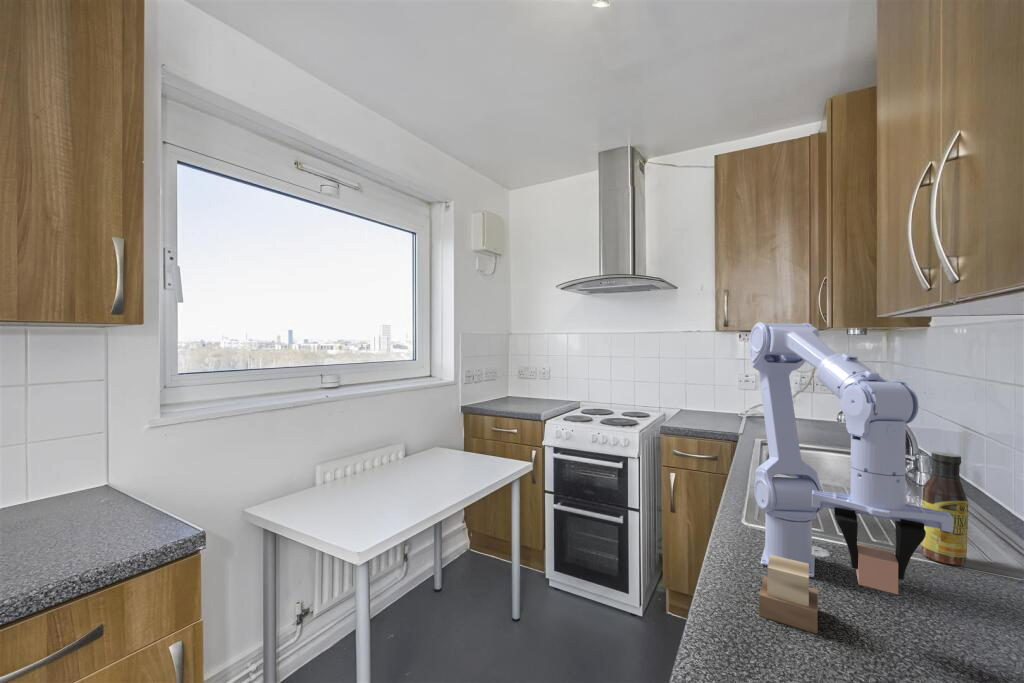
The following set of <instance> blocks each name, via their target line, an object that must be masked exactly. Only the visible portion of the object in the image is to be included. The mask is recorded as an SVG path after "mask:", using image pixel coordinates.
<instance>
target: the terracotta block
mask: <svg viewBox="0 0 1024 683" xmlns="http://www.w3.org/2000/svg"><path fill="white" fill-rule="evenodd" d="M857 552H858V569H856V572H855V573H856V576H857V583H858V585H860V586H863V587H867V588H872V589H876V590H879V591H883V592H887V593H891V594H894V595H899V579H898V561H897V558H896V556H895V551H893V550H888V549H884V548H877V547H873V546H869V545H864V544H860V543H857Z"/></svg>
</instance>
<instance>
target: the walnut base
mask: <svg viewBox="0 0 1024 683" xmlns="http://www.w3.org/2000/svg"><path fill="white" fill-rule="evenodd" d="M767 577H768V575H763V578H762V582H761V587H760V590H759V594H758V597H759V598H758V616H759V617H762V618H765V619H768V620H772V621H775V622H778V623H781V624H784V625H788V626H790V627H794V628H797V629H800V630H803V631H806V632H810V633H812V634H816V635H817V634H818V628H819V627H818V625H819V624H818V620H819V619H818V612H819V611H818V607H819V606H818V602H819V600H818V598H819V597H818V595H819V593H818V592H819V589H817V588H813V587H810V586H809V607H807V606H804V605H800V604H797V603H793V602H790V601H786V600H782V599H779V598H775V597H772V596H768V595H767Z"/></svg>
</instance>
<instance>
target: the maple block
mask: <svg viewBox="0 0 1024 683" xmlns="http://www.w3.org/2000/svg"><path fill="white" fill-rule="evenodd" d="M767 576H768V577H767V595H768V596H772V597H775V598H779V599H782V600H786V601H790V602H793V603H797V604H800V605H804V606H807V607H809V587H810V577H809V564H808V563H803V562H799V561H795V560H791V559H786V558H782V557H778V556H774V555H770V556H769V562H768V566H767Z"/></svg>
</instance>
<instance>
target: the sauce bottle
mask: <svg viewBox="0 0 1024 683" xmlns="http://www.w3.org/2000/svg"><path fill="white" fill-rule="evenodd" d="M930 455H931V456H930V458H931V460H932V467H931V468H932V469H931V477H929V479H928V480H927V481H926V482H925V483H924V484H923V488H922V499H921V507H923V508H928V509H932V510H937V511H942V512H948V513H950V515H951V516H952V517H953V532H947V531H942V530H940V529H939V528H933V527H928V526H924V529H925V531H926V536H925V538H924V540H923V541H922V542H921V543H920V545H921V549H920V551H921V555H923V556H924V557H925V556H926V557H925V558H927V557H928V559H930V560H932V561H934V562H938V563H942V564H946V565H950V566H957V565H958V566H963V565H964V564H965V563H966V561H967V560H966V558H967V553H968V529H969V528H968V526H969V524H968V523H969V500H968V498H967V496H966V492H965V491H964V488H963V484H962V482H961V475H960V471H961V470H960V469H961V468H960V466H961V464H962V456H961V455H959V454H954V453H949V452H943V451H932V452H931V454H930ZM962 564H963V565H962Z"/></svg>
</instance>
